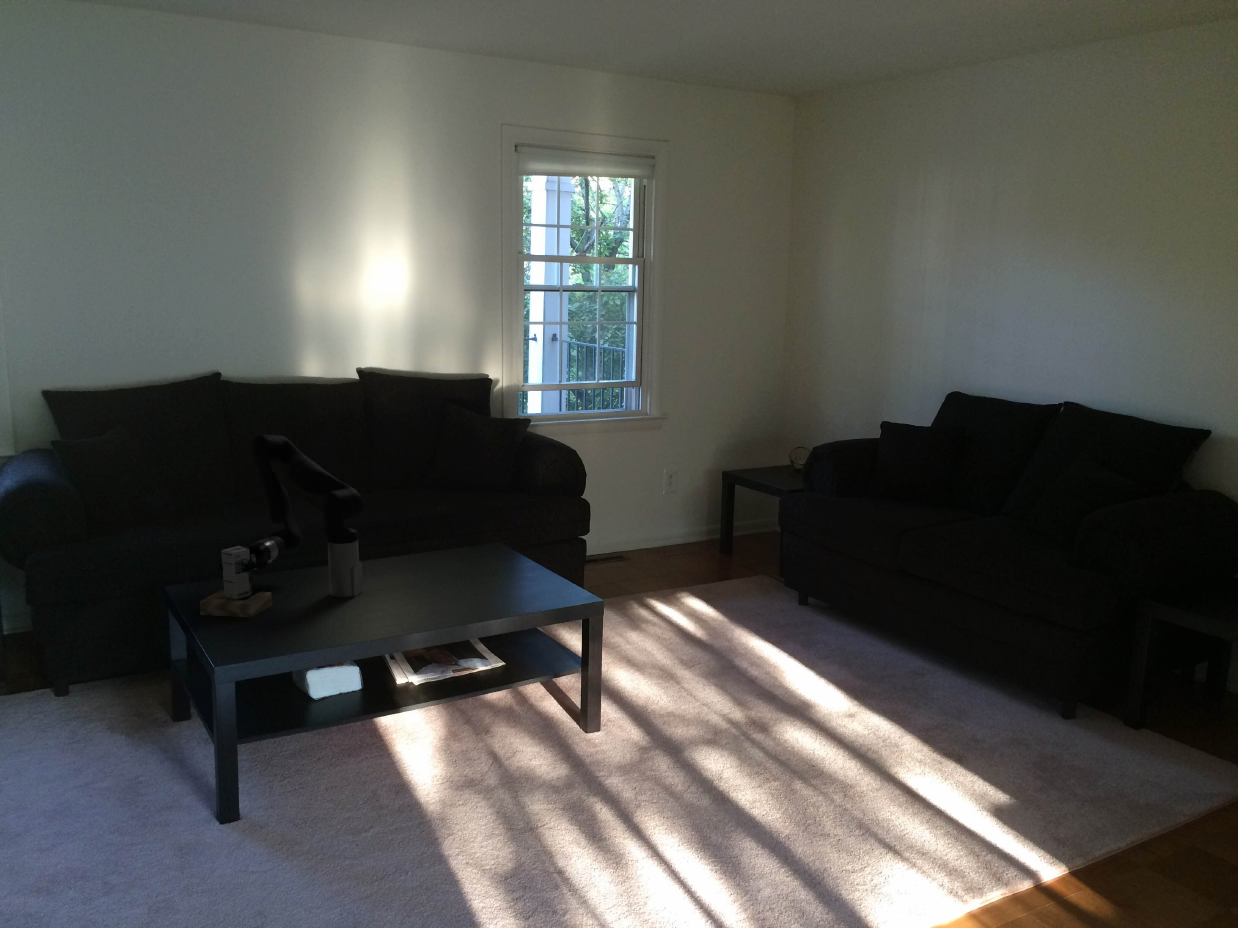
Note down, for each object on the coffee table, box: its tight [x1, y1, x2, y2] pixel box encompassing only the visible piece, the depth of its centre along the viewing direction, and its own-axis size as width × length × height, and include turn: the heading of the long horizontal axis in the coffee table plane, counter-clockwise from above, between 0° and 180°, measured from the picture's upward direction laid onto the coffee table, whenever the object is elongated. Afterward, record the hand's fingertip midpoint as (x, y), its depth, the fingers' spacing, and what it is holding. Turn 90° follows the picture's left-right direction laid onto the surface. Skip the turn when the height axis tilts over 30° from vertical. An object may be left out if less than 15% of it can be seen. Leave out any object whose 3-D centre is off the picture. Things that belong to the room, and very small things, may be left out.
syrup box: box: [221, 545, 253, 600], centre depth 293 cm, size 6×6×14 cm
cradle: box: [199, 589, 273, 619], centre depth 293 cm, size 16×12×4 cm
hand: (233, 568), depth 291 cm, fingers closed on syrup box, 7 cm apart
